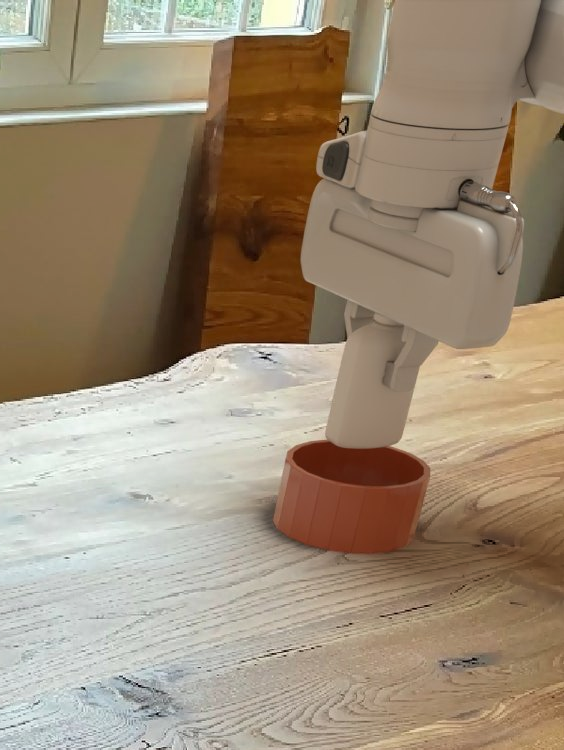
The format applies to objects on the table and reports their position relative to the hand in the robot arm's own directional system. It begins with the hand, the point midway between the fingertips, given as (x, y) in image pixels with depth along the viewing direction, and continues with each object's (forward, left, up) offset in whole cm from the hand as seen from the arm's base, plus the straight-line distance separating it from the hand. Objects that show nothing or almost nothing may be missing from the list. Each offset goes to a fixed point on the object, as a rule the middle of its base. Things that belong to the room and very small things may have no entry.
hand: (377, 378), depth 108 cm
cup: (0, 0, -13) cm, 13 cm away
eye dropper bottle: (0, 0, -5) cm, 5 cm away
